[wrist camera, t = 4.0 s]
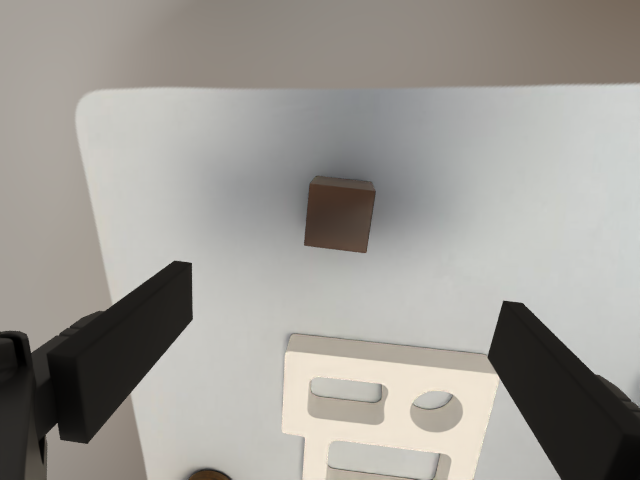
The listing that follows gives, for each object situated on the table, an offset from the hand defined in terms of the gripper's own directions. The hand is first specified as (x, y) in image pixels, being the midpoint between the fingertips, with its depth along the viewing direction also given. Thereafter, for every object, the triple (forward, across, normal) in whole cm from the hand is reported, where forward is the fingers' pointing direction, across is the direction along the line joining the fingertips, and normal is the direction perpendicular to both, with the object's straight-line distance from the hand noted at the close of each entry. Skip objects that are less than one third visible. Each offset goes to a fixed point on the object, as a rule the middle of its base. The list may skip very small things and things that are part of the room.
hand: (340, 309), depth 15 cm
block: (+15, 0, +1) cm, 15 cm away
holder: (+15, +6, -33) cm, 37 cm away
